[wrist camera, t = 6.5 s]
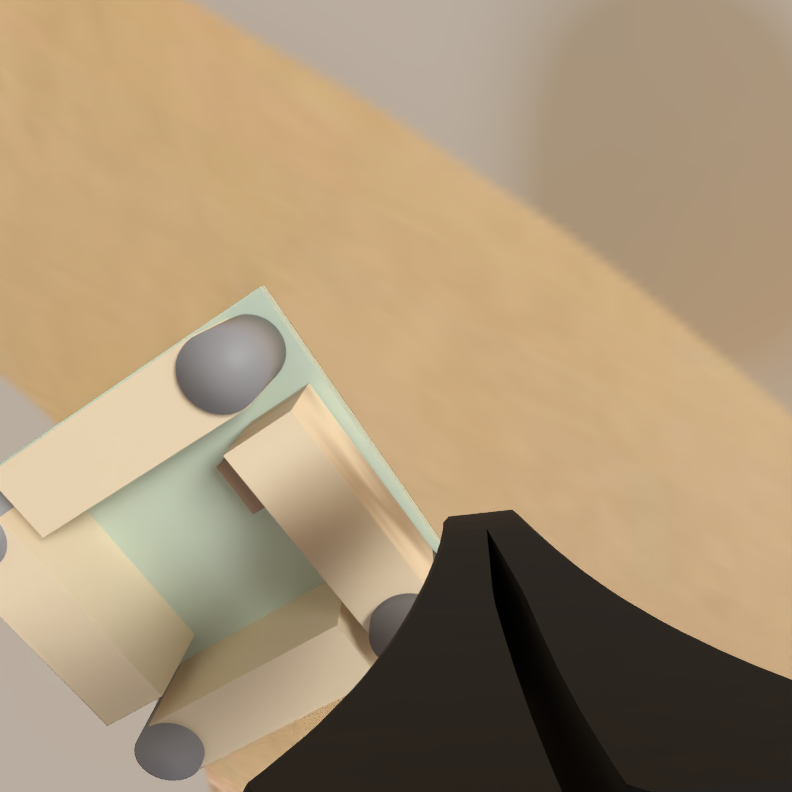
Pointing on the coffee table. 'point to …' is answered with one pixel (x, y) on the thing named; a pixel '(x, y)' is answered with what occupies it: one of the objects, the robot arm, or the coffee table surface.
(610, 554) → the coffee table surface
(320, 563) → the beige long rectangular block
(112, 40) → the coffee table surface
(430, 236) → the coffee table surface
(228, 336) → the hinged beam frame
